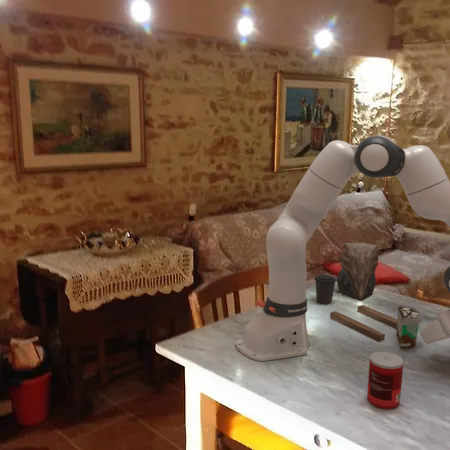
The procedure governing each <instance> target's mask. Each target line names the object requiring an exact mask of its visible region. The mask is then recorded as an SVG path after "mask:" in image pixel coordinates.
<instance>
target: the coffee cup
mask: <svg viewBox="0 0 450 450" xmlns="http://www.w3.org/2000/svg"><path fill="white" fill-rule="evenodd" d="M313 279H314V281H315V293H316V295H315V297H316V303H317V304H318V305H322V304H323V305H324V306H325V305H326V306H327V305H328V304H329V305H332V302H333V297H334V292H335V291H334V290H335V284H336V283H337V280H336V279H337V277H334V276H332V275H328V274H319V275H316V276H315V277H314V278H313Z"/></svg>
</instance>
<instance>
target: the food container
mask: <svg viewBox="0 0 450 450" xmlns="http://www.w3.org/2000/svg"><path fill="white" fill-rule="evenodd" d="M396 319H397V329H396V340H397V343H398V346H399V349H400V350H401V349H404V350H405V349H406V350H407V349H411V348H414V347H415V346H416V343H417V338H418V337H417V336H418V331H419V326H420V325H419V324H421V323H422V320H423V319H422V314H421V311H420V310H419V309H417V308H416V307H415V308H414V307H412V306H410V305H404V304H398V306H397V318H396Z"/></svg>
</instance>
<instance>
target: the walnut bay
mask: <svg viewBox="0 0 450 450" xmlns="http://www.w3.org/2000/svg"><path fill="white" fill-rule="evenodd" d="M357 312H358V313H360V314H361V315H364V316H366V317H369V318H370V319H374V320H376V321H378V322H380V323H382V324H384V325H386V326H388V327H391V328H393V329H395V330H397V319H398V318H395V317H392V316H390V315H387V314H385V313H383V312H381V311H378V310H375V309H373V308H371V307H369V306H367V305H363V304H361V305H358V306H357ZM329 313H330V314H329V318H330V319H331V320H334V321H335V322H338V323H340V324H342V325H343V326H345V327H347V328H350V329H352V330H354V331H356V332H358V333H360V334H362V335H363V336H366V337H369V338H370V339H373V340H374V341H376V342H379V343H380V342H383V341H385V339H386V338H385V336H386V334H385V333H383V332H381V331H379V330H377V329H375V328H373V327H370V326H368V325H366V324H365V323H362V322H360V321H358V320H356V319H354V318H351V317H349V316H347V315H345V314H343V313H341V312H339V311H337V310H336V311H331V312H329Z"/></svg>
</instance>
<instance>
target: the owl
mask: <svg viewBox="0 0 450 450" xmlns="http://www.w3.org/2000/svg"><path fill="white" fill-rule="evenodd" d="M378 251H379V245H378V244H377V243H376V244H372V243H369V242H365V241H364V242H363V241H362V242H358V243H357V242H355V243H352V242H344V243H343V250H342V252H341V253H340V257H339V265H340V267H341V268H340V270H339V271H338V275H337V277H336V280H337V281H336V283H337V288H338V289H337V290H338V294H339V293H341V294H343V295H342V296H345V295H346V296H345V297H347V296H348V297H347V298H350V297H351V298H350V299H352V298H353V299H352V300H355V299H356V301H358V300H359V301H358V302H363V301H364V300H366V299H367V298H369V297H371V296H373V292H374V290H375V288H376V283H377V280H376V273H375V272H376V269H377V268H378V265H379V255H378ZM341 294H340V295H341ZM362 300H363V301H362Z"/></svg>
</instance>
